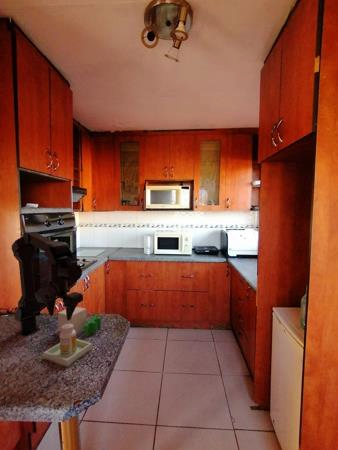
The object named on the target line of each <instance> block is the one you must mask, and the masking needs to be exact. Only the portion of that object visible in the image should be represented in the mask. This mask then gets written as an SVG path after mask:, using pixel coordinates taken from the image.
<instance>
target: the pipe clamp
mask: <svg viewBox="0 0 338 450" xmlns="http://www.w3.org/2000/svg"><path fill="white" fill-rule="evenodd" d="M101 328H102V318H101V317H99V314H95V315H94V316H93V317H92V318H91V319H90V320H89V321H88V322H87V324H86V325H85V326H84V333H83V334H84V337H88V336H89V335H90V334H91V333H92V334H97V332H98V329H101Z"/></svg>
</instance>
